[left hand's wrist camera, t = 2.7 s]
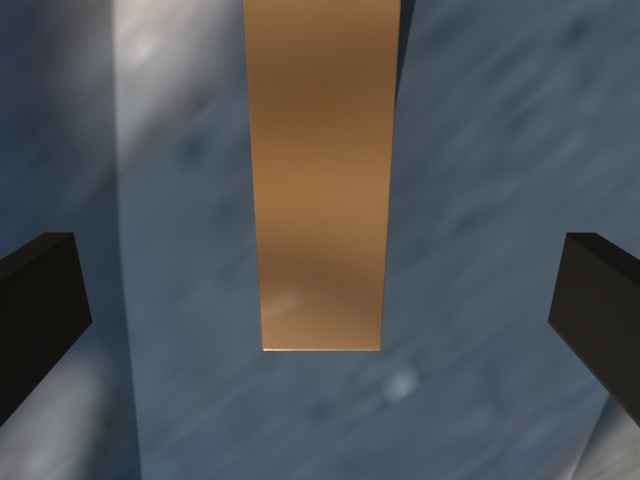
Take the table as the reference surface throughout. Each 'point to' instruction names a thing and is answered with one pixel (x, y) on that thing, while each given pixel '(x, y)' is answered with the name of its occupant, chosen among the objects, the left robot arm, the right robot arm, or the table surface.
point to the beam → (321, 166)
